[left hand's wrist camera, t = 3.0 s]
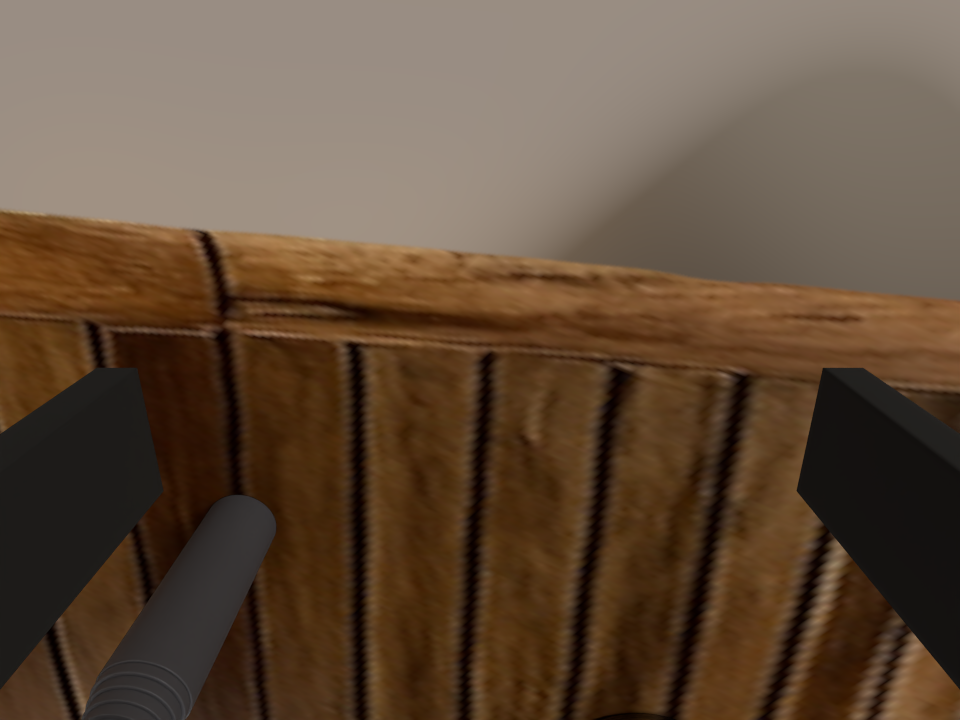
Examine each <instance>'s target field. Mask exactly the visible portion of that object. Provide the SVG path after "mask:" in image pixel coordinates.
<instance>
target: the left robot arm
mask: <svg viewBox="0 0 960 720" xmlns="http://www.w3.org/2000/svg"><path fill="white" fill-rule="evenodd" d="M162 492H163V487H162V482H161V478H160V473H159V468H158V464H157V459H156V454H155V450H154V445H153V440H152V436H151V431H150V426H149V422H148V417H147V412H146V408H145V403H144V399H143V394H142V389H141V385H140V380H139V375H138V371H137V368H96V369H95V370H93V371H92V372H90V373H89V374H87V375H86V376H84V377H83V378H81V379H80V380H79V381H77V382H76V383H74V384H73V385H71V386H70V387H68V388H67V389H65V390H64V391H62V392H61V393H60V394H58V395H57V396H55V397H54V398H52V399H51V400H49V401H48V402H46V403H45V404H43V405H42V406H41V407H39V408H38V409H36V410H35V411H33V412H32V413H30V414H29V415H27V416H26V417H24V418H23V419H22V420H20V421H19V422H17V423H16V424H14V425H13V426H11V427H10V428H8V429H7V430H5V431H4V432H3V433H1V434H0V689H1V688H2V687H3V685H4V684H5V683H6V682H7V680H8V679H9V678H10V677H11V676H12V674H13V673H14V672H15V671H16V670H17V668H18V667H19V666H20V665H21V663H22V662H23V661H24V660H25V659H26V657H27V656H28V655H29V654H30V653H31V651H32V650H33V649H34V648H35V646H36V645H37V644H38V643H39V642H40V640H41V639H42V638H43V637H44V635H45V634H46V633H47V632H48V631H49V629H50V628H51V627H52V626H53V625H54V623H55V622H56V621H57V620H58V618H59V617H60V616H61V615H62V614H63V612H64V611H65V610H66V609H67V608H68V606H69V605H70V604H71V603H72V601H73V600H74V599H75V598H76V597H77V595H78V594H79V593H80V592H81V591H82V589H83V588H84V587H85V586H86V584H87V583H88V582H89V581H90V580H91V578H92V577H93V576H94V575H95V573H96V572H97V571H98V570H99V569H100V567H101V566H102V565H103V564H104V563H105V561H106V560H107V559H108V558H109V556H110V555H111V554H112V553H113V552H114V550H115V549H116V548H117V547H118V546H119V544H120V543H121V542H122V541H123V539H124V538H125V537H126V536H127V535H128V533H129V532H130V531H131V530H132V528H133V527H134V526H135V525H136V524H137V522H138V521H139V520H140V519H141V518H142V516H143V515H144V514H145V513H146V511H147V510H148V509H149V508H150V507H151V505H152V504H153V503H154V502H155V501H156V499H157V498H158V497H159V496H160V494H161V493H162ZM797 492H798V493H799V494H800V496H801V497H802V498H803V499H804V501H805V502H806V503H807V504H808V505H809V507H810V508H811V509H812V510H813V511H814V513H815V514H816V515H817V516H818V518H819V519H820V520H821V521H822V522H823V524H824V525H825V526H826V527H827V528H828V530H829V531H830V532H831V533H832V535H833V536H834V537H835V538H836V539H837V541H838V542H839V543H840V544H841V546H842V547H843V548H844V549H845V550H846V552H847V553H848V554H849V555H850V556H851V558H852V559H853V560H854V561H855V563H856V564H857V565H858V566H859V567H860V569H861V570H862V571H863V572H864V573H865V575H866V576H867V577H868V578H869V580H870V581H871V582H872V583H873V584H874V586H875V587H876V588H877V589H878V591H879V592H880V593H881V594H882V595H883V597H884V598H885V599H886V600H887V601H888V603H889V604H890V605H891V606H892V608H893V609H894V610H895V611H896V612H897V614H898V615H899V616H900V617H901V618H902V620H903V621H904V622H905V623H906V625H907V626H908V627H909V628H910V629H911V631H912V632H913V633H914V634H915V635H916V637H917V638H918V639H919V640H920V642H921V643H922V644H923V645H924V646H925V648H926V649H927V650H928V651H929V653H930V654H931V655H932V656H933V657H934V659H935V660H936V661H937V662H938V663H939V665H940V666H941V667H942V668H943V670H944V671H945V672H946V673H947V674H948V676H949V677H950V678H951V679H952V680H953V682H954V683H955V684H956V685H957V687H958V688H959V689H960V434H959V433H957V432H956V431H955V430H953V429H952V428H950V427H949V426H947V425H946V424H944V423H943V422H941V421H940V420H938V419H937V418H936V417H934V416H933V415H931V414H930V413H928V412H927V411H925V410H924V409H922V408H921V407H919V406H918V405H917V404H915V403H914V402H912V401H911V400H909V399H908V398H906V397H905V396H903V395H902V394H900V393H899V392H898V391H896V390H895V389H893V388H892V387H890V386H889V385H887V384H886V383H884V382H883V381H881V380H880V379H879V378H877V377H876V376H874V375H873V374H871V373H870V372H868V371H867V370H865V369H864V368H823V371H822V375H821V380H820V385H819V389H818V394H817V399H816V403H815V408H814V412H813V417H812V422H811V426H810V431H809V436H808V440H807V445H806V450H805V454H804V459H803V464H802V468H801V473H800V478H799V482H798V487H797ZM601 720H675V719H672V718H668V717H665V716H659V715H653V714H624V715H617V716H612V717H608V718H604V719H601Z"/></svg>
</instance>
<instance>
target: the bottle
mask: <svg viewBox="0 0 960 720" xmlns="http://www.w3.org/2000/svg"><path fill="white" fill-rule="evenodd" d="M275 533H276V522H275V518H274V516H273V514H272V512H271V511H270V510H269V509H268V508H267V506H265V505H264V504H263V503H262V502H260V501H258V500H256V499H254V498H252V497H248V496H244V495H231V496H227V497H224V498H222V499H220V500H218V501H217V502H215V503H214V504H213V506H212V507H211V508H210V510H209V511H208V513H207V514H206V516H205V517H204V519H203V520H202V522H201V523H200V525H199V526H198V528H197V529H196V531H195V532H194V534H193V535H192V537H191V538H190V540H189V541H188V543H187V544H186V546H185V547H184V549H183V550H182V552H181V553H180V555H179V556H178V558H177V559H176V561H175V562H174V563H173V565H172V566H171V568H170V569H169V571H168V572H167V574H166V575H165V577H164V578H163V580H162V581H161V583H160V584H159V586H158V587H157V589H156V590H155V592H154V593H153V595H152V596H151V598H150V599H149V601H148V602H147V604H146V605H145V607H144V608H143V610H142V611H141V613H140V614H139V616H138V617H137V619H136V620H135V622H134V623H133V625H132V626H131V628H130V629H129V631H128V632H127V634H126V635H125V637H124V638H123V640H122V641H121V643H120V644H119V646H118V647H117V649H116V650H115V652H114V653H113V655H112V656H111V658H110V659H109V661H108V662H107V664H106V665H105V666H104V668H103V669H102V671H101V672H100V674H99V676H98V677H97V680H96V682H95V684H94V686H93V688H92V690H91V692H90V698H89V700H88V702H87V704H86V709H85V712H84V714H83V716H82V720H185V719H186V718H187V716H188V715H189V714H190V712H191V710H192V707H193V705H194V703H195V701H196V699H197V697H198V695H199V693H200V691H201V689H202V687H203V684H204V682H205V680H206V678H207V676H208V674H209V672H210V670H211V668H212V666H213V663H214V661H215V659H216V657H217V655H218V653H219V651H220V649H221V647H222V645H223V643H224V640H225V638H226V636H227V634H228V632H229V630H230V628H231V626H232V624H233V622H234V620H235V617H236V615H237V613H238V611H239V609H240V607H241V605H242V603H243V601H244V599H245V597H246V594H247V592H248V590H249V588H250V586H251V584H252V582H253V580H254V578H255V576H256V574H257V571H258V569H259V567H260V565H261V563H262V561H263V559H264V557H265V555H266V553H267V551H268V548H269V546H270V544H271V542H272V540H273V538H274V536H275Z"/></svg>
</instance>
